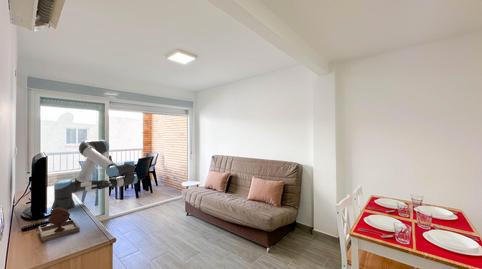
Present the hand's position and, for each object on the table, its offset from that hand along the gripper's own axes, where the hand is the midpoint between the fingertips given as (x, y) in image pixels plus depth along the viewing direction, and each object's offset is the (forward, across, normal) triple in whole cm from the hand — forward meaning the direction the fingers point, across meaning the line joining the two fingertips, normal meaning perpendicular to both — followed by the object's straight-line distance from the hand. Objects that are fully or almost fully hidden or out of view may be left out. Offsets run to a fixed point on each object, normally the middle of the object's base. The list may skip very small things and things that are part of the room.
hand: (83, 186), depth 149 cm
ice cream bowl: (+13, -6, -25) cm, 29 cm away
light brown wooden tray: (+13, -7, -26) cm, 30 cm away
